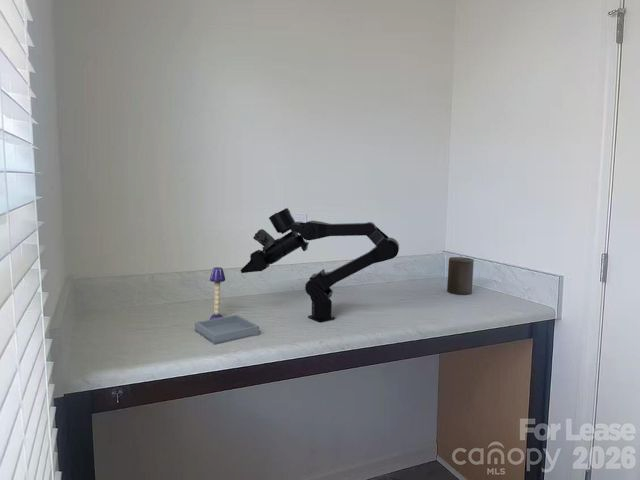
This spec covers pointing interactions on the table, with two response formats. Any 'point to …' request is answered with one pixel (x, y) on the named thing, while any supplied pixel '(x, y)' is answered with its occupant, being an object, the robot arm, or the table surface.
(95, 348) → the table surface
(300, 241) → the robot arm
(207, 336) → the desk tray
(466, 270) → the pillar candle
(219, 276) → the toy lamp
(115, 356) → the table surface
